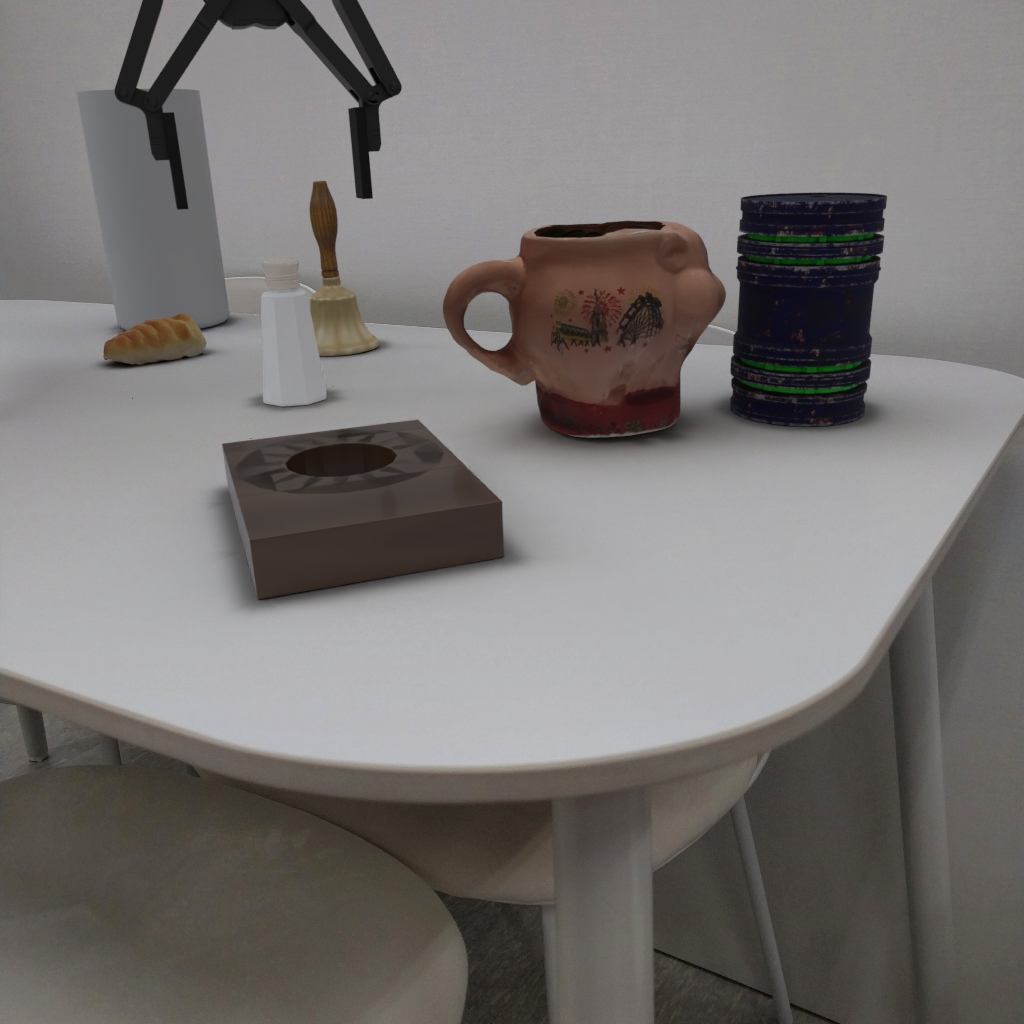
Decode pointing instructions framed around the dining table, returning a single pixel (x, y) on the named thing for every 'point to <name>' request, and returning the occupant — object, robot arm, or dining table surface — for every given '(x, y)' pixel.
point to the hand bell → (334, 288)
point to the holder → (356, 507)
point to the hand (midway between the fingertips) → (276, 203)
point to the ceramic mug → (597, 321)
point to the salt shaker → (288, 339)
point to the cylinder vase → (154, 212)
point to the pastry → (157, 341)
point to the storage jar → (805, 306)
